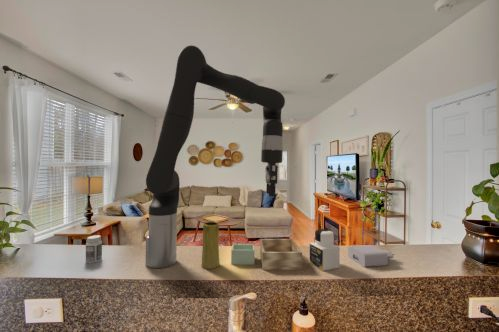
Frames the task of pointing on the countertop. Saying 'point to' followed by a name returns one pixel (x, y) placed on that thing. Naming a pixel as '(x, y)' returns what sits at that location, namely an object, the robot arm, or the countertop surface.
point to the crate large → (280, 254)
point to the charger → (369, 255)
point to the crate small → (242, 254)
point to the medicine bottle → (324, 251)
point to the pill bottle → (93, 249)
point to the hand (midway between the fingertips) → (270, 194)
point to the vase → (210, 245)
